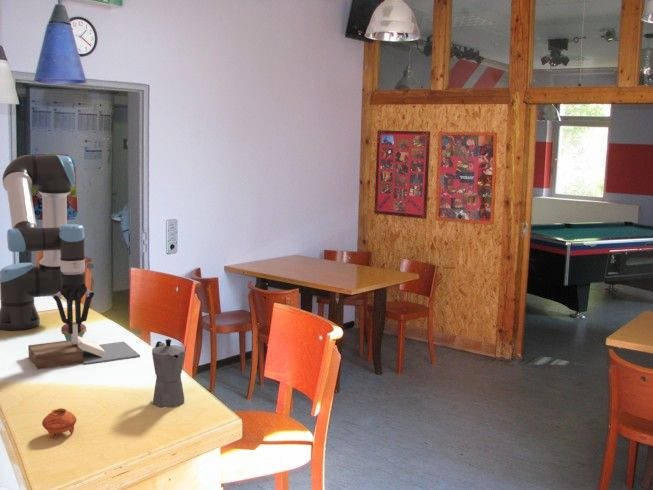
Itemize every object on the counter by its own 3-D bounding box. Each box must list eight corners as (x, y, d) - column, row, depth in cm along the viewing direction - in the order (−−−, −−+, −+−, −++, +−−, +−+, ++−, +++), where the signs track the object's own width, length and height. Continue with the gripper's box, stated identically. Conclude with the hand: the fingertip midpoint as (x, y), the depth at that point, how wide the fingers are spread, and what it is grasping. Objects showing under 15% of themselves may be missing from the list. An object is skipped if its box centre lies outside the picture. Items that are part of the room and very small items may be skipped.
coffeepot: (193, 406, 199) (193, 343, 196) (161, 412, 194) (160, 348, 191) (172, 389, 212) (172, 329, 209) (141, 394, 206) (140, 333, 204)
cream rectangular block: (73, 340, 242) (76, 335, 242) (94, 349, 246) (97, 343, 246) (79, 348, 233) (82, 343, 234) (102, 357, 238) (105, 351, 238)
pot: (81, 425, 183) (79, 403, 181) (72, 445, 176) (70, 422, 174) (49, 424, 183) (47, 401, 180) (38, 443, 176) (36, 420, 173)
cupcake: (81, 345, 251) (80, 312, 249) (57, 344, 251) (56, 311, 249) (90, 338, 259) (89, 306, 258) (66, 338, 260) (65, 305, 258)
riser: (28, 357, 237) (28, 345, 236) (72, 351, 244) (72, 339, 244) (37, 369, 225) (36, 356, 225) (83, 362, 233) (83, 350, 232)
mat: (71, 349, 246) (71, 348, 246) (123, 342, 256) (123, 341, 256) (84, 364, 231) (84, 363, 231) (140, 356, 241) (140, 355, 241)
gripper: (54, 276, 227) (56, 348, 231) (96, 272, 234) (97, 343, 238) (49, 271, 233) (51, 342, 237) (90, 268, 240) (91, 337, 244)
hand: (74, 342), depth 237 cm, fingers closed
